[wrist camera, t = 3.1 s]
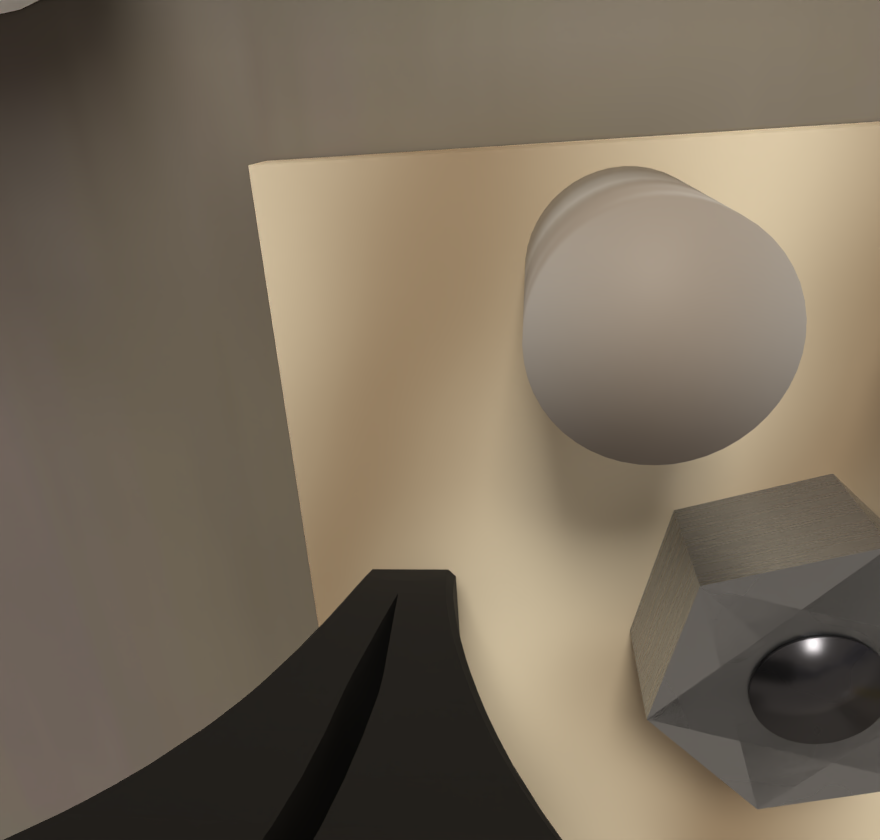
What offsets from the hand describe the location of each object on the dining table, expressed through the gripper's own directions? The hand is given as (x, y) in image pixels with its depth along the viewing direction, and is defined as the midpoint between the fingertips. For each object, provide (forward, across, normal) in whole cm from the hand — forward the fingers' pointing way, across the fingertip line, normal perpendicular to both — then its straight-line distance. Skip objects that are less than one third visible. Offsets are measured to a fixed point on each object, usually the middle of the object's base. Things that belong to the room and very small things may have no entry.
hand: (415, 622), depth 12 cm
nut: (+1, -6, 0) cm, 6 cm away
